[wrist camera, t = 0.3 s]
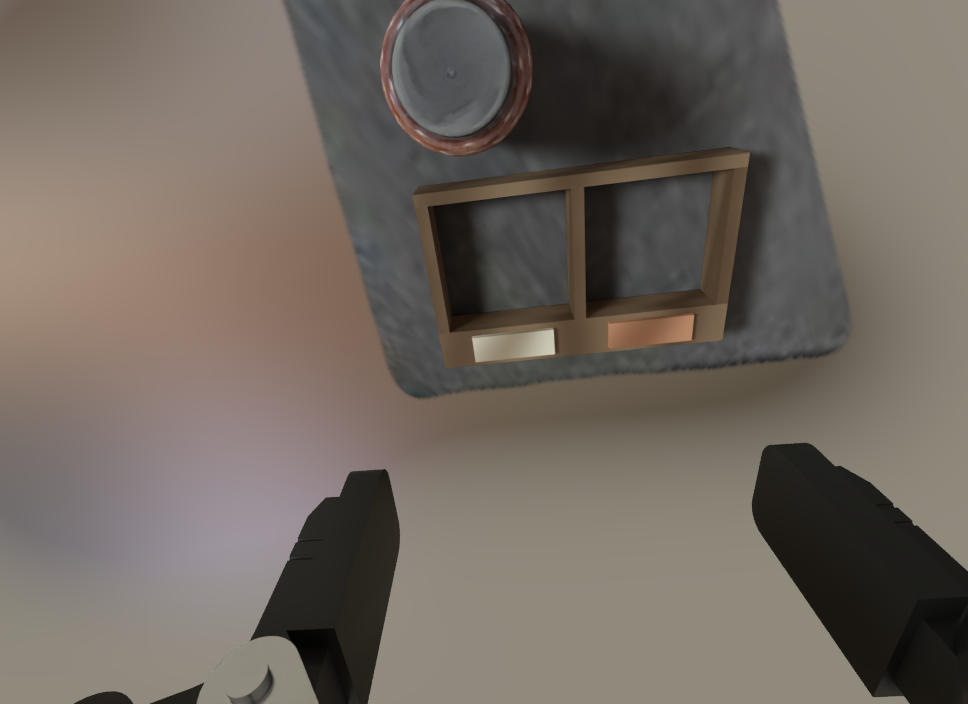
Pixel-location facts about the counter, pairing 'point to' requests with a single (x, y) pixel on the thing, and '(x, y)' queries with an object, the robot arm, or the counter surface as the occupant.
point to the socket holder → (579, 320)
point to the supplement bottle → (456, 73)
